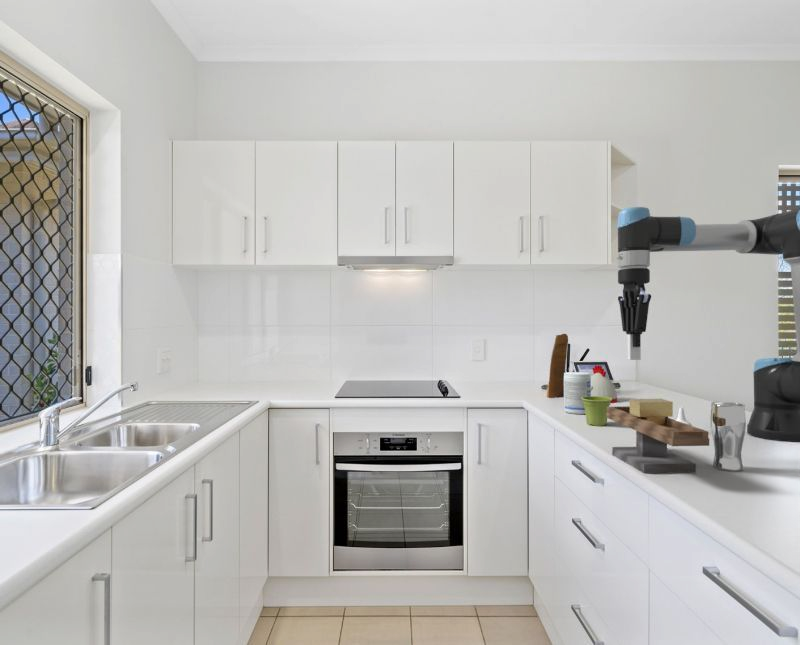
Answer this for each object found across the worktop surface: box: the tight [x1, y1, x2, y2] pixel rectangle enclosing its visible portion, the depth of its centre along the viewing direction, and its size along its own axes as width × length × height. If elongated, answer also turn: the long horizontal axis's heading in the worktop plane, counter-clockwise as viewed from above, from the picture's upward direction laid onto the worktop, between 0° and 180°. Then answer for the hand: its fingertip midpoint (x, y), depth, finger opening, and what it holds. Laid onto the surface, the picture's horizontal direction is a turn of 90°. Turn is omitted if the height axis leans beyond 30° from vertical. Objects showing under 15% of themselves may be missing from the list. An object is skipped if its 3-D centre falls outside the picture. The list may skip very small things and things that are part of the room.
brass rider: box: [629, 398, 674, 425], centre depth 127 cm, size 5×8×5 cm, turn 92°
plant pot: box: [582, 396, 612, 427], centre depth 173 cm, size 9×9×9 cm
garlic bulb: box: [675, 406, 693, 426], centre depth 161 cm, size 6×6×8 cm
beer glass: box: [709, 401, 747, 473], centre depth 122 cm, size 7×7×15 cm
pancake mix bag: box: [546, 333, 569, 399], centre depth 236 cm, size 7×19×28 cm, turn 141°
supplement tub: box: [563, 371, 591, 415], centre depth 195 cm, size 10×10×15 cm
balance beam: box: [606, 405, 710, 474], centre depth 127 cm, size 32×12×11 cm, turn 2°
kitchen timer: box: [590, 364, 618, 404], centre depth 223 cm, size 14×14×15 cm
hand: (634, 359), depth 136 cm, fingers closed
